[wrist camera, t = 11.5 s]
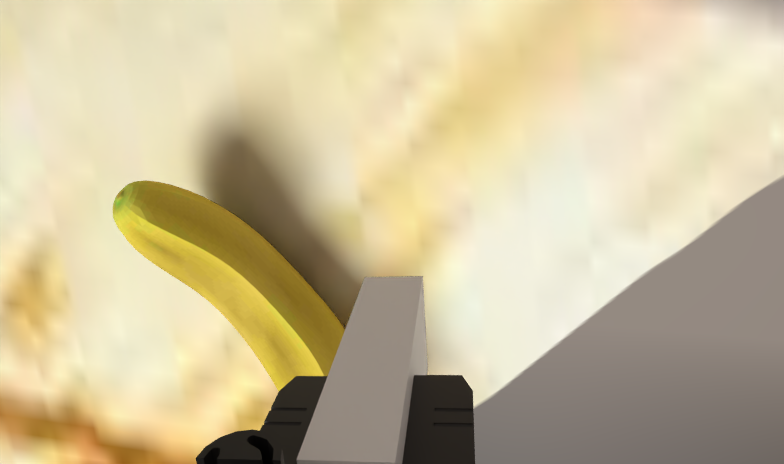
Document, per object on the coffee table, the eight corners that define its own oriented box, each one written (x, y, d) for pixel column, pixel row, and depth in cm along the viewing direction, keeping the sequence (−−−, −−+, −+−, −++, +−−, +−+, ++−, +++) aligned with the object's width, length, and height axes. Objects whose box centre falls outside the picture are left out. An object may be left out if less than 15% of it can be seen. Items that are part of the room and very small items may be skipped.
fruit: (194, 140, 48) (135, 168, 39) (414, 383, 54) (405, 453, 45) (140, 191, 50) (73, 227, 42) (357, 419, 56) (338, 492, 48)
